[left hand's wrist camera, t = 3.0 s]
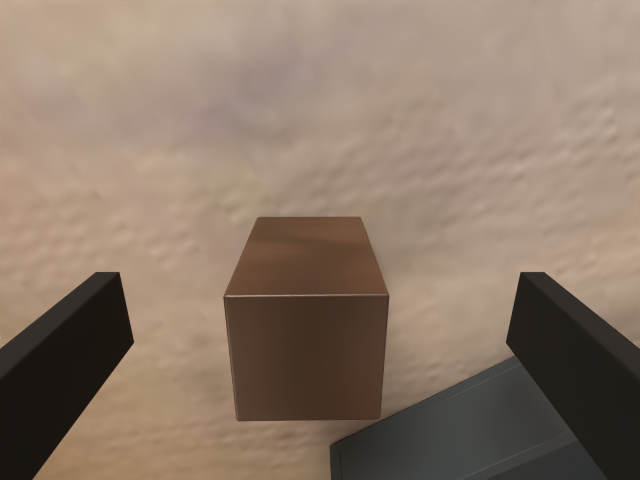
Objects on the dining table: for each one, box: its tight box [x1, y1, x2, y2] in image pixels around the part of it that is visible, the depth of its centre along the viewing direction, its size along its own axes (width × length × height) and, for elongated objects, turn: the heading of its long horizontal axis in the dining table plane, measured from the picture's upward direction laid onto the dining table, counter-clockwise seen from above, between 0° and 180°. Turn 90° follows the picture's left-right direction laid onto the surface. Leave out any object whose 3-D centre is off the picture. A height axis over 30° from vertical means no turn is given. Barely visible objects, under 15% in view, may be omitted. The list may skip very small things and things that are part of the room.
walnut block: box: [223, 217, 389, 421], centre depth 13 cm, size 4×4×6 cm
